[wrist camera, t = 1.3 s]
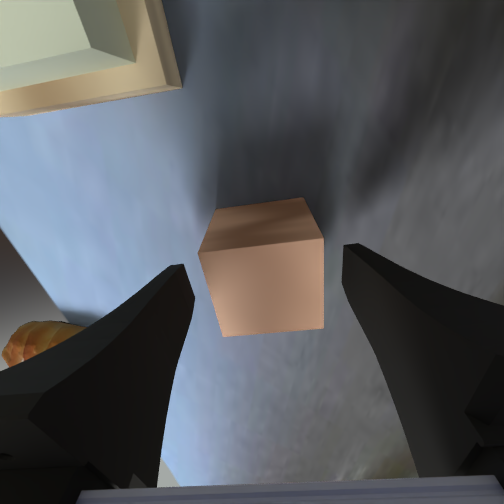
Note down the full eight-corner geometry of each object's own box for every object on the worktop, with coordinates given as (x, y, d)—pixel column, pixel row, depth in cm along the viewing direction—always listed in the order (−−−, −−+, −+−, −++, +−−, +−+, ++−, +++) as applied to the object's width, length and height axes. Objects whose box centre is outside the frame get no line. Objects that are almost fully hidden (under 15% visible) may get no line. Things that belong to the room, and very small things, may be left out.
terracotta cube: (302, 196, 12) (323, 238, 8) (306, 269, 15) (323, 328, 11) (216, 208, 13) (197, 253, 9) (231, 277, 15) (223, 336, 11)
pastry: (19, 351, 19) (-29, 401, 16) (30, 295, 16) (-27, 342, 13) (135, 388, 22) (114, 439, 18) (162, 345, 19) (143, 396, 15)
